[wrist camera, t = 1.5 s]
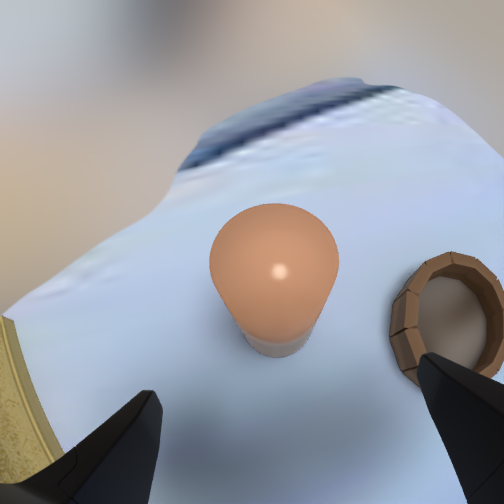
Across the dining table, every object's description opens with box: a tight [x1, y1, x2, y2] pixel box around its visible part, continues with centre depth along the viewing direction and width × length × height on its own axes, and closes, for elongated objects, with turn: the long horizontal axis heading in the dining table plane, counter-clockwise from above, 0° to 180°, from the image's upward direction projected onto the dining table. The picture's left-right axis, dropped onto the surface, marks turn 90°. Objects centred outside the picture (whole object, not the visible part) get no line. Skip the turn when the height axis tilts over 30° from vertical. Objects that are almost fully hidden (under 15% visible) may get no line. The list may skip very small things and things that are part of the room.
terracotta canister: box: [209, 204, 339, 358], centre depth 16 cm, size 5×5×11 cm
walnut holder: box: [389, 251, 504, 387], centre depth 18 cm, size 10×10×3 cm
